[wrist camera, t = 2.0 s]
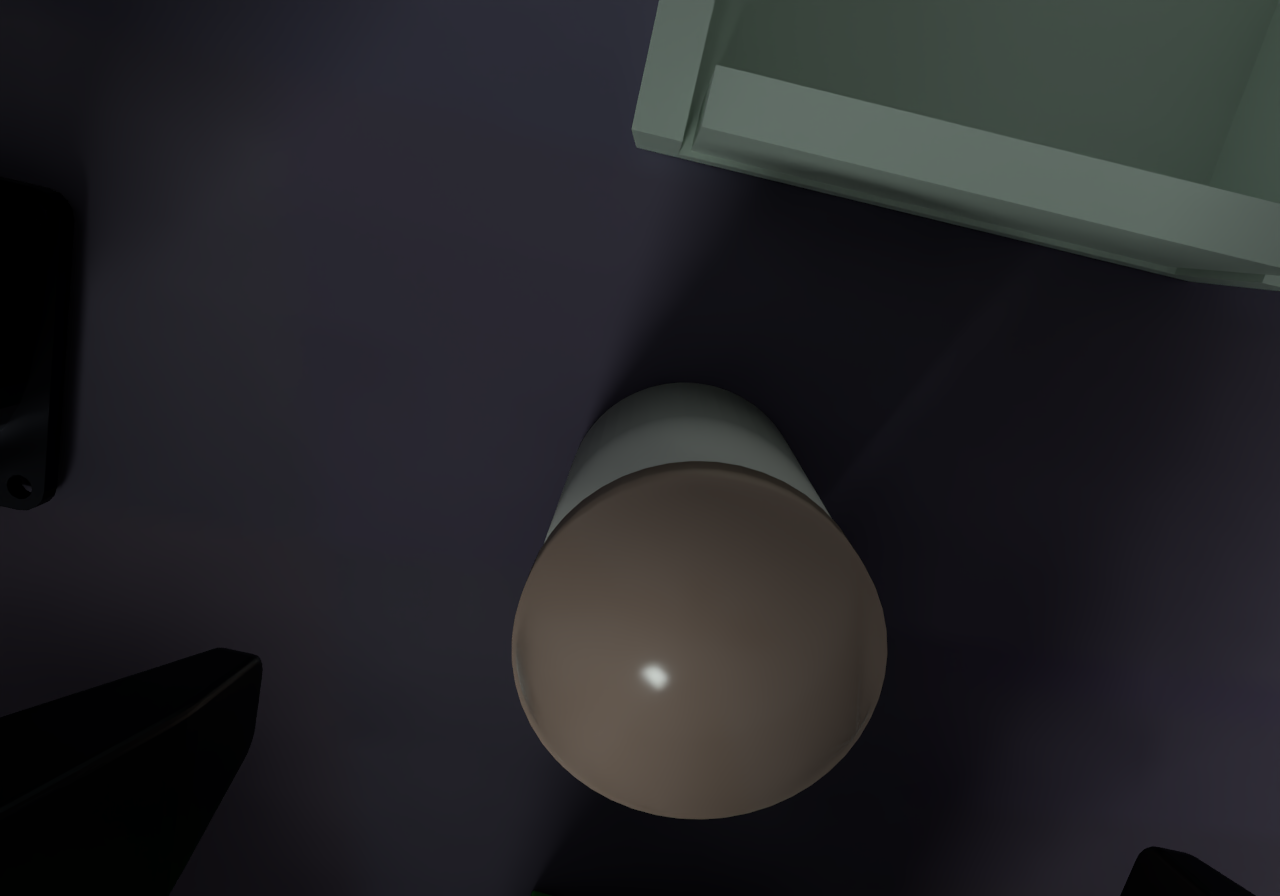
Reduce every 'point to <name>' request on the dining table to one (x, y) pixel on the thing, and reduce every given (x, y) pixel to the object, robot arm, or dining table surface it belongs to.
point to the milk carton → (539, 894)
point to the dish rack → (997, 117)
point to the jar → (696, 614)
